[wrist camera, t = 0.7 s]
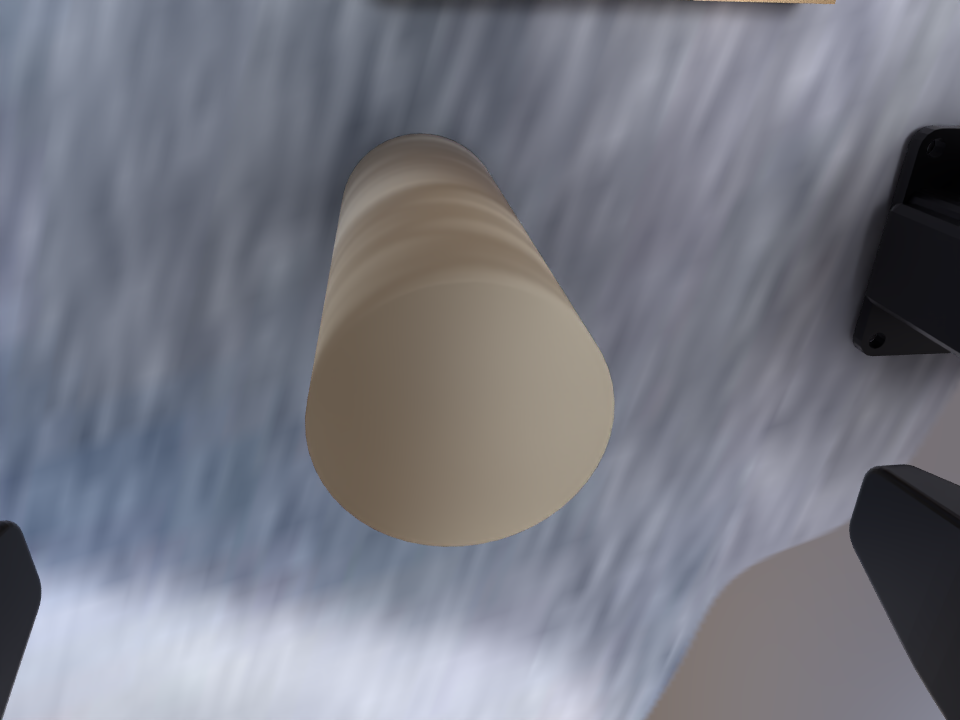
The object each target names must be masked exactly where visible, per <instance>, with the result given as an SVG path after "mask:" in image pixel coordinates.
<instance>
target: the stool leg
mask: <svg viewBox="0 0 960 720" xmlns="http://www.w3.org/2000/svg"><path fill="white" fill-rule="evenodd" d="M613 420H614V393H613V384H612V381H611V377H610V373H609V369H608V367H607V364H606V362H605V360H604V357H603V355H602V353H601V351H600V349H599V348H598V346H597V345H596V343H595V342H594V340H593V338H592V337H591V335H590V334H589V332H588V330H587V329H586V327H585V326H584V324H583V322H582V321H581V319H580V318H579V316H578V314H577V313H576V311H575V310H574V308H573V306H572V305H571V303H570V302H569V300H568V298H567V297H566V295H565V294H564V292H563V290H562V289H561V287H560V286H559V284H558V282H557V281H556V279H555V278H554V276H553V274H552V273H551V271H550V270H549V268H548V266H547V265H546V263H545V262H544V260H543V258H542V257H541V255H540V254H539V252H538V250H537V249H536V247H535V246H534V244H533V242H532V241H531V239H530V238H529V236H528V234H527V233H526V231H525V230H524V228H523V226H522V225H521V223H520V222H519V220H518V218H517V217H516V215H515V214H514V212H513V210H512V209H511V207H510V206H509V204H508V202H507V201H506V199H505V198H504V196H503V194H502V193H501V191H500V190H499V188H498V186H497V185H496V183H495V182H494V180H493V178H492V177H491V175H490V174H489V172H488V170H487V169H486V167H485V166H484V165H483V163H482V162H481V161H480V160H479V159H478V158H477V157H476V156H475V155H474V154H473V153H472V152H471V151H470V150H468V149H467V148H465V147H464V146H462V145H461V144H459V143H457V142H455V141H453V140H450V139H447V138H445V137H442V136H437V135H432V134H408V135H404V136H399V137H396V138H393V139H390V140H388V141H386V142H384V143H382V144H380V145H378V146H377V147H375V148H374V149H373V150H371V151H370V152H369V153H368V154H367V155H366V156H364V157H363V158H362V159H361V161H360V162H359V163H358V164H357V166H356V167H355V168H354V170H353V172H352V173H351V175H350V177H349V179H348V182H347V184H346V186H345V190H344V194H343V198H342V204H341V210H340V215H339V221H338V227H337V233H336V238H335V244H334V250H333V256H332V261H331V267H330V273H329V279H328V284H327V290H326V296H325V302H324V307H323V313H322V319H321V325H320V330H319V336H318V342H317V348H316V353H315V359H314V365H313V371H312V376H311V382H310V388H309V394H308V399H307V407H306V415H305V429H306V439H307V445H308V450H309V454H310V457H311V459H312V462H313V465H314V468H315V470H316V472H317V474H318V476H319V477H320V479H321V481H322V483H323V484H324V486H325V487H326V488H327V490H328V491H329V493H330V494H331V495H332V497H333V498H334V499H335V500H336V501H337V502H338V503H339V504H340V505H341V506H342V507H343V508H344V509H345V510H346V511H348V512H349V513H350V514H352V515H353V516H354V517H355V518H357V519H358V520H359V521H361V522H363V523H364V524H366V525H368V526H370V527H371V528H373V529H375V530H377V531H379V532H382V533H384V534H386V535H389V536H391V537H394V538H397V539H401V540H404V541H407V542H412V543H417V544H423V545H431V546H443V547H447V546H468V545H476V544H482V543H487V542H491V541H496V540H500V539H503V538H506V537H509V536H512V535H515V534H517V533H519V532H522V531H524V530H526V529H528V528H530V527H533V526H534V525H536V524H538V523H540V522H541V521H543V520H545V519H546V518H548V517H549V516H551V515H552V514H554V513H555V512H556V511H558V510H559V509H560V508H562V507H563V506H564V505H565V504H566V503H567V502H569V501H570V500H571V499H572V498H573V497H574V496H575V495H576V494H577V493H578V492H579V491H580V489H581V488H582V487H583V486H584V485H585V484H586V482H587V481H588V480H589V478H590V477H591V475H592V474H593V472H594V471H595V469H596V468H597V466H598V464H599V462H600V460H601V458H602V456H603V454H604V452H605V450H606V447H607V444H608V441H609V438H610V435H611V430H612V425H613Z"/></svg>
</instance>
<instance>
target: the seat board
mask: <svg viewBox="0 0 960 720" xmlns="http://www.w3.org/2000/svg"><path fill="white" fill-rule="evenodd" d="M695 1H734V2H773V3H814V4H835V1H836V0H695Z"/></svg>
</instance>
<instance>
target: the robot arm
mask: <svg viewBox="0 0 960 720" xmlns="http://www.w3.org/2000/svg"><path fill="white" fill-rule="evenodd" d="M933 140H935V146H934V148H933V150H932V151H931V152H930V153H929V154H927V148H928V146H929V145H930V143H931V142H932V141H933ZM875 334H877V336H876V337H875V339H874V340H872V341H871V342H869V340H870V339H871V337H872V336H873V335H875ZM853 343H854V345H855V347H857V348H858V349H859V350H861V351H862V352H863V353H865V354H866V355H869V356H886V355H910V354H935V353H953V354H955V355H956V356H958V357H960V126H928V127H924V128H923V129H921V130H920V131H918V132H917V133H916V134H915V135H914V136H913V138H912V139H911V141H910V144H909V146H908V149H907V153H906V156H905V160H904V163H903V167H902V170H901V173H900V177H899V180H898V184H897V187H896V191H895V194H894V198H893V201H892V204H891V208H890V211H889V214H888V218H887V221H886V225H885V228H884V232H883V235H882V238H881V242H880V245H879V249H878V252H877V256H876V259H875V263H874V266H873V269H872V273H871V276H870V280H869V283H868V287H867V290H866V294H865V297H864V301H863V304H862V308H861V311H860V315H859V318H858V322H857V325H856V328H855V332H854V335H853ZM849 532H850V539H851V542H852V545H853V548H854V549H855V552H856V554H857V556H858V558H859V560H860V562H861V564H862V566H863V568H864V569H865V572H866V574H867V576H868V577H869V580H870V582H871V584H872V586H873V588H874V590H875V592H876V594H877V596H878V598H879V600H880V602H881V604H882V605H883V608H884V610H885V611H886V614H887V616H888V618H889V620H890V622H891V623H892V625H893V627H894V630H895V631H896V633H897V635H898V637H899V639H900V641H901V643H902V645H903V647H904V649H905V651H906V653H907V655H908V657H909V659H910V661H911V662H912V664H913V666H914V668H915V670H916V672H917V673H918V675H919V676H920V678H921V680H922V682H923V683H924V685H925V687H926V688H927V690H928V692H929V693H930V695H931V696H932V698H933V700H934V701H935V703H936V705H937V706H938V708H939V709H940V711H941V712H942V714H943V716H944V717H945V719H946V720H960V486H959V485H957V484H954V483H952V482H949V481H947V480H945V479H942V478H940V477H938V476H935V475H933V474H931V473H928V472H926V471H924V470H921V469H919V468H917V467H914V466H911V465H905V464H903V465H886V466H876V467H873V468H871V469H870V470H869V471H868V472H867V473H866V474H865V477H864V479H863V482H862V485H861V489H860V492H859V495H858V498H857V501H856V504H855V508H854V511H853V514H852V517H851V520H850V527H849ZM40 601H41V583H40V579H39V576H38V573H37V571H36V568H35V565H34V563H33V560H32V557H31V554H30V552H29V549H28V546H27V544H26V541H25V538H24V535H23V533H22V531H21V529H20V528H19V526H18V525H17V524H15V523H14V522H11V521H6V520H5V521H0V720H2V718H3V715H4V712H5V709H6V706H7V703H8V700H9V697H10V694H11V691H12V688H13V685H14V682H15V679H16V676H17V673H18V670H19V667H20V664H21V661H22V658H23V655H24V652H25V649H26V646H27V643H28V640H29V637H30V634H31V631H32V628H33V624H34V621H35V618H36V615H37V612H38V609H39V606H40Z"/></svg>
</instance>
